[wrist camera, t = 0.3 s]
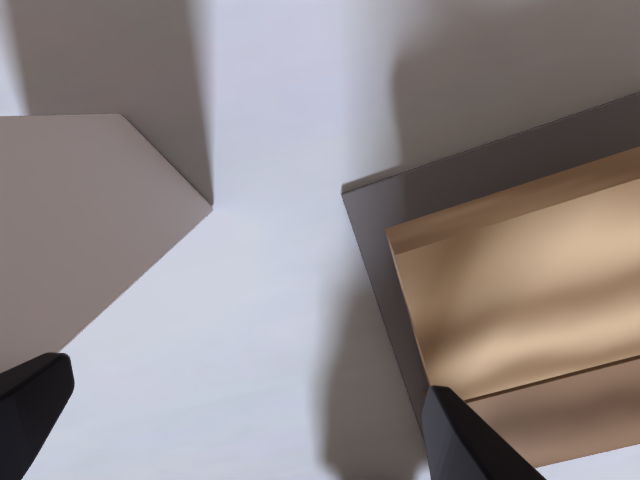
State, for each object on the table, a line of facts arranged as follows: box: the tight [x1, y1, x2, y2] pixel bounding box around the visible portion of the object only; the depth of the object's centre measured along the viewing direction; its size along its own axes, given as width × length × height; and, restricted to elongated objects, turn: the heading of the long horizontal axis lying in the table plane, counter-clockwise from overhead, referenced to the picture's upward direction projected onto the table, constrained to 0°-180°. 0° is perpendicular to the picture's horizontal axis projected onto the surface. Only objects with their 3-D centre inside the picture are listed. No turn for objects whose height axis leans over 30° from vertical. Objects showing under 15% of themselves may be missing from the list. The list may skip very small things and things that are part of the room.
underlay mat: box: [341, 92, 640, 441], centre depth 24 cm, size 22×20×1 cm
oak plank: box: [385, 146, 640, 400], centre depth 19 cm, size 14×17×2 cm
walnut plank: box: [423, 355, 640, 468], centre depth 25 cm, size 7×18×2 cm, turn 110°
